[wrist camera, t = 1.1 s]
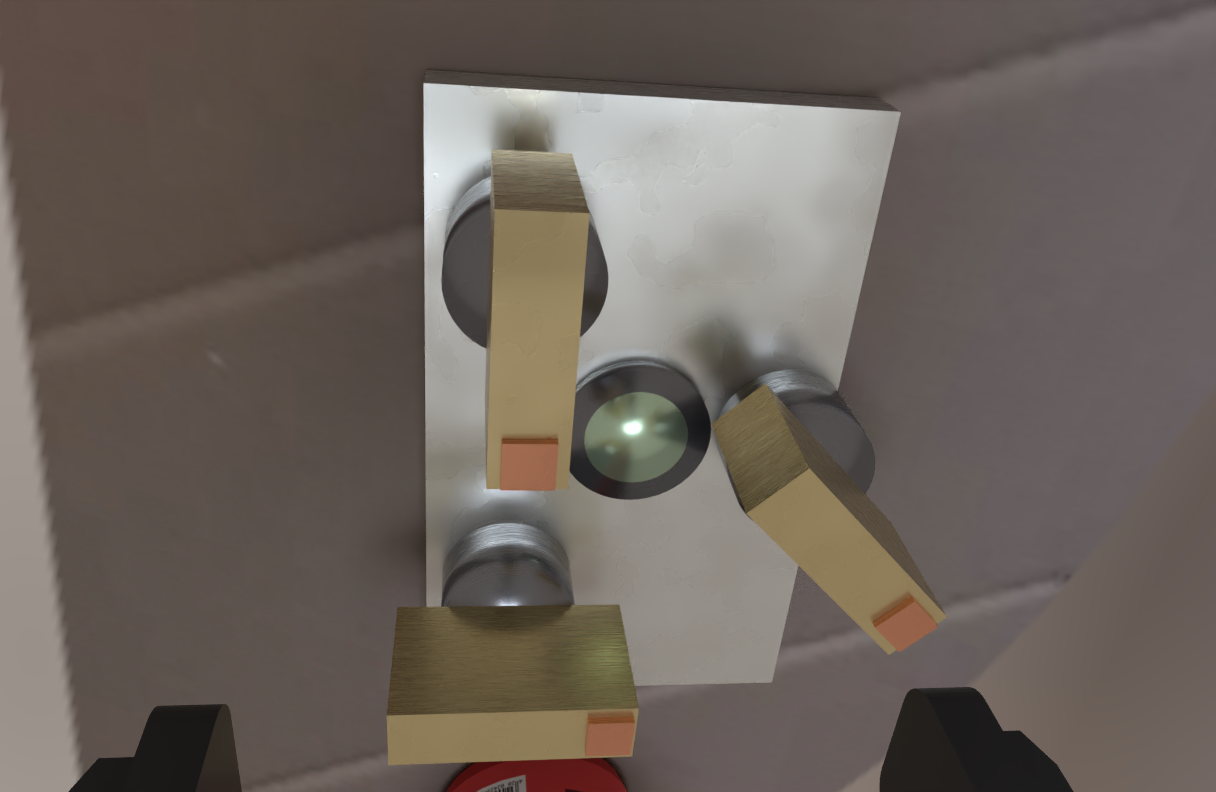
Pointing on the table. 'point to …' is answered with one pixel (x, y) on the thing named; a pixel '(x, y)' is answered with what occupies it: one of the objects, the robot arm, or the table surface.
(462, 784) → the canned food
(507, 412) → the knob
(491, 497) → the level plate
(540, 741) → the knob
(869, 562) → the yellow paddle knob
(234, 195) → the table surface
